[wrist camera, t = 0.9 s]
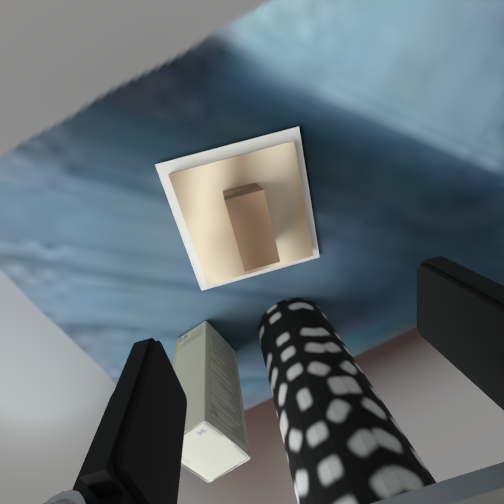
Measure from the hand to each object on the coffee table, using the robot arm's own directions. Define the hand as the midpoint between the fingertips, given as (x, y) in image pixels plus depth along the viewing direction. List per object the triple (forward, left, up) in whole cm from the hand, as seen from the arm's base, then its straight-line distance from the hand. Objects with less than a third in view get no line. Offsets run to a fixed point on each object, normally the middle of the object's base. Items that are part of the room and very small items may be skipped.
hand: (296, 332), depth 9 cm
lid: (0, 0, -18) cm, 18 cm away
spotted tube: (-2, +15, -18) cm, 24 cm away
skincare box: (+8, +14, -18) cm, 25 cm away
